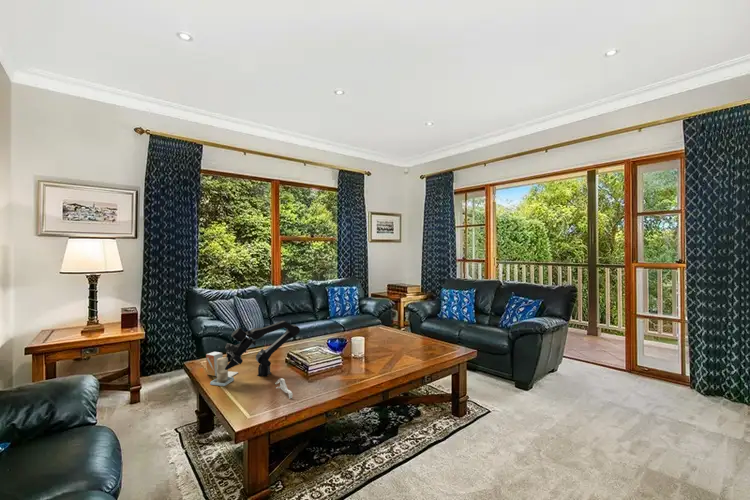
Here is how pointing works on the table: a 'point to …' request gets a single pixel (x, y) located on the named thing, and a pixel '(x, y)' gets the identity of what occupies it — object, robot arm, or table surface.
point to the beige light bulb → (222, 370)
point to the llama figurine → (284, 387)
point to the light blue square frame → (221, 383)
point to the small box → (212, 362)
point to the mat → (232, 374)
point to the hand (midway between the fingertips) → (223, 367)
